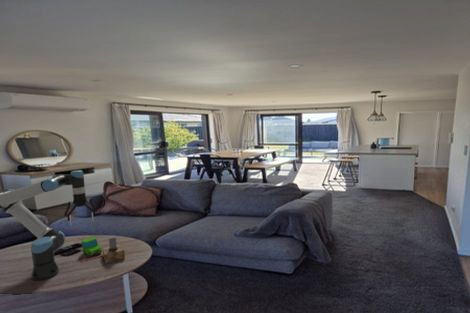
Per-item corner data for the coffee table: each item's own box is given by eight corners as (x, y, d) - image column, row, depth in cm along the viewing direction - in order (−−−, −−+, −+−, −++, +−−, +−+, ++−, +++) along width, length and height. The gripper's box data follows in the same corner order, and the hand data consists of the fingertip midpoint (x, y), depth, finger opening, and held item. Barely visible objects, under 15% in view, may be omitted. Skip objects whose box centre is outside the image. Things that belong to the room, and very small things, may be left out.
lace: (81, 262, 206) (80, 261, 206) (79, 260, 209) (79, 259, 209) (106, 254, 217) (106, 254, 217) (105, 253, 220) (105, 252, 220)
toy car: (90, 258, 213) (88, 245, 212) (81, 253, 221) (80, 241, 220) (103, 253, 221) (102, 240, 220) (94, 249, 229) (93, 236, 228)
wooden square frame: (105, 262, 205) (104, 254, 204) (103, 255, 216) (102, 248, 215) (124, 258, 211) (124, 250, 210) (121, 251, 222) (121, 243, 222)
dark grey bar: (111, 258, 210) (109, 238, 209) (110, 256, 214) (108, 236, 212) (117, 257, 213) (115, 237, 211) (116, 255, 216) (114, 235, 215)
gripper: (57, 197, 191) (61, 228, 194) (99, 191, 204) (102, 220, 206) (58, 194, 198) (61, 225, 200) (98, 189, 210) (101, 218, 212)
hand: (82, 223), depth 203 cm, fingers open, 13 cm apart
